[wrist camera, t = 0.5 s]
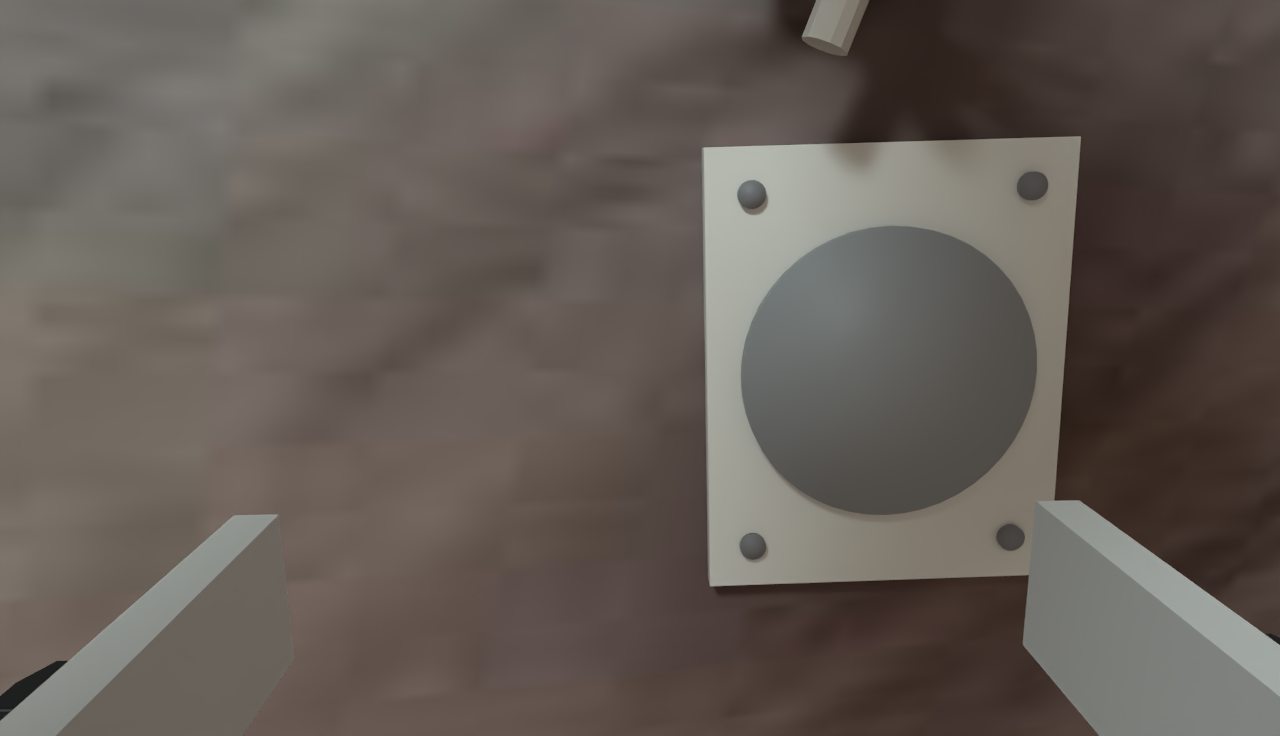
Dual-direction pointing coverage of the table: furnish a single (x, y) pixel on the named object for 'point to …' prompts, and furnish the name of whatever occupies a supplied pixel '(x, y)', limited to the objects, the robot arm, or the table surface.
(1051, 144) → the duct panel
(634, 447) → the table surface
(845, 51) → the pipe connector
